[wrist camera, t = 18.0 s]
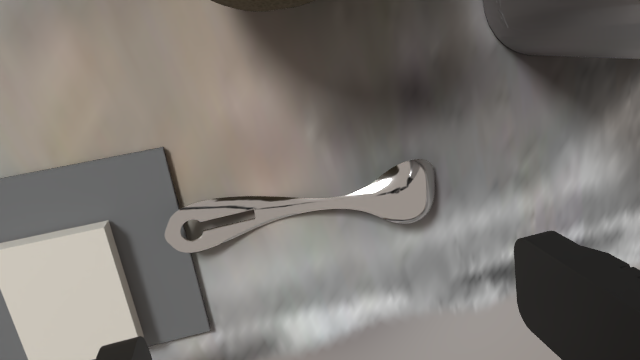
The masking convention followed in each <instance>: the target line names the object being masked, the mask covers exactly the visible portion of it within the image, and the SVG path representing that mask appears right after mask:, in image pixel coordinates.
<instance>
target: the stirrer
mask: <svg viewBox="0 0 640 360" xmlns="http://www.w3.org/2000/svg"><path fill="white" fill-rule="evenodd" d="M434 196H435V174H434V168H433V166H432V164H431V163H430V162H429V161H427V160H424V159H414V160H409V161H406V162H403V163H401V164H398V165H396V166H395V167H393V168H391V169H390V170H388V171H387V172H386V173H384V174H383V175H382V176H380V177H379V178H378V179H376V180H375V181H374V182H372V183H371V184H370V185H368V186H366V187H365V188H363V189H361V190H359V191H357V192H354V193H351V194H348V195H344V196H339V197H331V198H291V197H266V196H243V197H226V198H216V199H210V200H204V201H200V202H196V203H193V204H190V205H187V206H185V207H183V208H181V209H179V210H177V211H176V212H174V213H173V214H172V215H171V217H170V218H169V220H168V222H167V225H166V227H165V230H164V237H165V239H166V241H167V242H168V243H169V244H170V245H171V246H172V247H173V248H175V249H176V250H178V251H180V252H184V253H192V252H198V251H202V250H206V249H209V248H212V247H214V246H217V245H219V244H222V243H224V242H226V241H229V240H231V239H233V238H235V237H238V236H240V235H242V234H244V233H246V232H248V231H251V230H253V229H255V228H257V227H260V226H262V225H265V224H267V223H270V222H272V221H275V220H278V219H281V218H285V217H288V216H292V215H296V214H300V213H305V212H310V211H317V210H325V209H353V210H359V211H364V212H367V213H370V214H373V215H376V216H378V217H381V218H383V219H385V220H388V221H391V222H395V223H400V224H408V223H413V222H416V221H418V220H420V219H422V218H423V217H424V216H426V214H427V213H428V212H429V211H430V209H431V207H432V204H433V201H434ZM249 210H254V214H255V218H252V219H248V220H244V221H240V222H236V223H232V224H227V225H223V226H219V227H215V228H211V229H207V230H203V233H202V235H201V236H200V237H199V238H197V239H195V240H187V239H185V238H184V237H183V236H182V235H181V227H182V225H183V224H184V223H185V222H186V221H189V220H198V221H199V222H203V221H207V220H212V219H216V218H220V217H224V216H228V215H232V214H237V213H241V212H245V211H249Z"/></svg>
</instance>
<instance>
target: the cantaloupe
mask: <svg viewBox="0 0 640 360" xmlns="http://www.w3.org/2000/svg"><path fill="white" fill-rule="evenodd" d="M211 1H214V2H216V3H219V4H221V5H224V6H228V7H232V8H236V9H240V10H245V11H271V10H278V9H285V8H292V7H296V6H300V5H304V4H306V3H309V2H312V1H314V0H211Z"/></svg>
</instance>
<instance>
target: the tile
mask: <svg viewBox="0 0 640 360" xmlns="http://www.w3.org/2000/svg"><path fill="white" fill-rule="evenodd" d="M0 290H1V292H2V295H3V297H4V300H5V302H6V305H7V307H8V310H9V312H10V315H11V317H12V320H13V323H14V325H15V328H16V330H17V333H18V335H19V338H20V340H21V343H22V345H23V348H24V350H25V353H26V356H27V358H28V360H93V359H96V357H97V354H98V352H99V349H100V348H101V347H102V346H104V345H108V344H112V343H115V342H119V341H123V340H127V339H131V338H135V337H139V336H142V337H143V338H144V335H143V331H142V328H141V325H140V322H139V318H138V315H137V312H136V309H135V305H134V302H133V299H132V296H131V292H130V289H129V286H128V283H127V279H126V276H125V273H124V270H123V266H122V263H121V260H120V256H119V253H118V250H117V247H116V243H115V240H114V237H113V234H112V230H111V227H110V224H109V221H108V220H107V221H103V222H98V223H93V224H88V225H84V226H79V227H74V228H69V229H65V230H60V231H55V232H50V233H46V234H41V235H36V236H32V237H27V238H22V239H17V240H13V241H8V242H3V243H0Z"/></svg>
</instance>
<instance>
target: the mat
mask: <svg viewBox="0 0 640 360" xmlns="http://www.w3.org/2000/svg"><path fill="white" fill-rule="evenodd" d="M177 210H179V205H178V201H177V197H176V193H175V190H174V186H173V182H172V178H171V174H170V170H169V166H168V163H167V159H166V155H165V151H164V147H161V148H155V149H150V150H145V151H140V152H135V153H130V154H124V155H119V156H114V157H109V158H104V159H99V160H93V161H88V162H83V163H78V164H73V165H67V166H62V167H57V168H52V169H47V170H42V171H36V172H31V173H26V174H21V175H16V176H11V177H5V178H0V243H3V242H8V241H13V240H17V239H22V238H27V237H32V236H36V235H41V234H46V233H50V232H55V231H60V230H65V229H69V228H74V227H79V226H84V225H88V224H93V223H98V222H103V221H107V220H108V221H109V224H110V227H111V230H112V234H113V237H114V240H115V243H116V247H117V250H118V253H119V256H120V260H121V263H122V266H123V270H124V273H125V276H126V279H127V283H128V286H129V289H130V292H131V296H132V299H133V302H134V305H135V309H136V312H137V315H138V318H139V322H140V325H141V328H142V331H143V335H144V339H145V341H146V343H147V346H152V345H156V344H160V343H164V342H168V341H172V340H176V339H180V338H184V337H188V336H192V335H196V334H200V333H204V332H208V331H210V325H209V321H208V317H207V313H206V309H205V305H204V302H203V298H202V294H201V290H200V286H199V282H198V278H197V275H196V271H195V267H194V263H193V259H192V255H191V253H184V252H180V251H178V250H176V249H175V248H173V247H172V246H171V245H170V244H169V243H168V242H167V241H166V239H165V237H164V230H165V227H166V225H167V222H168V220H169V218H170V217H171V215H172V214H173V213H174V212H176V211H177ZM181 235H182V236H183V237H184V238H185V239H187V236H186V232H185V228H184V224H183V225H182V227H181ZM0 360H28V358H27V356H26V353H25V350H24V348H23V345H22V343H21V340H20V338H19V335H18V333H17V330H16V328H15V325H14V323H13V320H12V317H11V315H10V312H9V310H8V307H7V305H6V302H5V300H4V297H3V295H2V292H1V290H0ZM93 360H95V359H93Z"/></svg>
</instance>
